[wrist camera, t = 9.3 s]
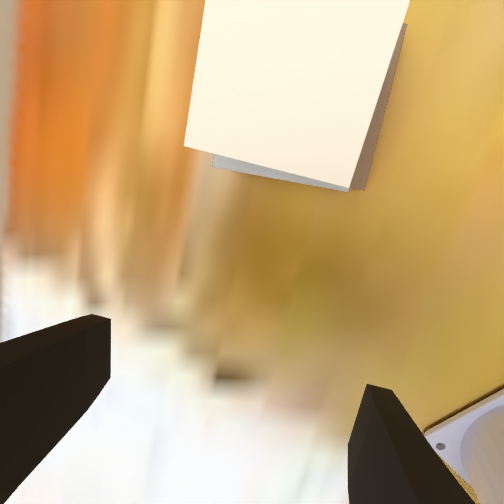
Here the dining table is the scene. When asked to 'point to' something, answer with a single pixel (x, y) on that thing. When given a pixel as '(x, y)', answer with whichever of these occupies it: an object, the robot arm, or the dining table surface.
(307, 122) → the cream cube
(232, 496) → the dining table surface
